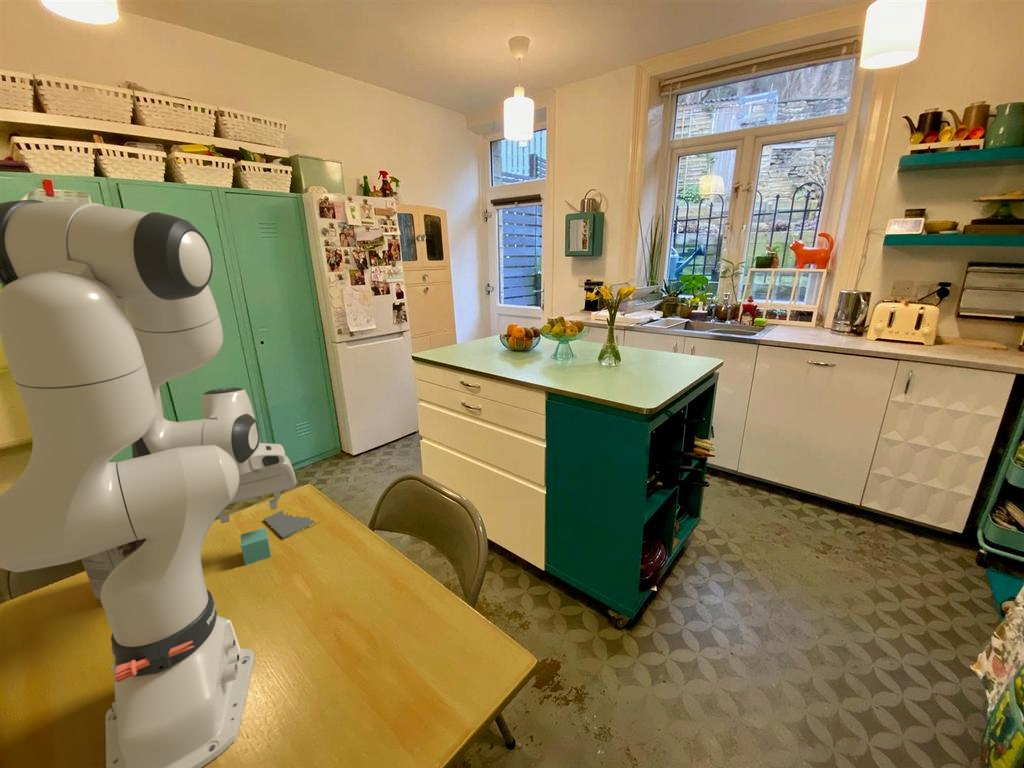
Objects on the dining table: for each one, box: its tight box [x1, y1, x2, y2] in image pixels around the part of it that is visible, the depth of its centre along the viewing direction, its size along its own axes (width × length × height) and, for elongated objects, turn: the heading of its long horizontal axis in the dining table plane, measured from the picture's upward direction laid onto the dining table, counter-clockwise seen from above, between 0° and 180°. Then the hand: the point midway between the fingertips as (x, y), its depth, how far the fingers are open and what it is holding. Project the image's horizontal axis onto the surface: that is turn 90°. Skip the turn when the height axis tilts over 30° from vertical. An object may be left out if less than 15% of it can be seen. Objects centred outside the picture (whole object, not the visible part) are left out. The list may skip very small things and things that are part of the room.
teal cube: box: [240, 527, 272, 566], centre depth 96 cm, size 5×5×5 cm
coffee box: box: [80, 539, 146, 601], centre depth 86 cm, size 9×6×16 cm
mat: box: [263, 510, 315, 539], centre depth 109 cm, size 12×9×1 cm
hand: (250, 514), depth 95 cm, fingers open, 8 cm apart
